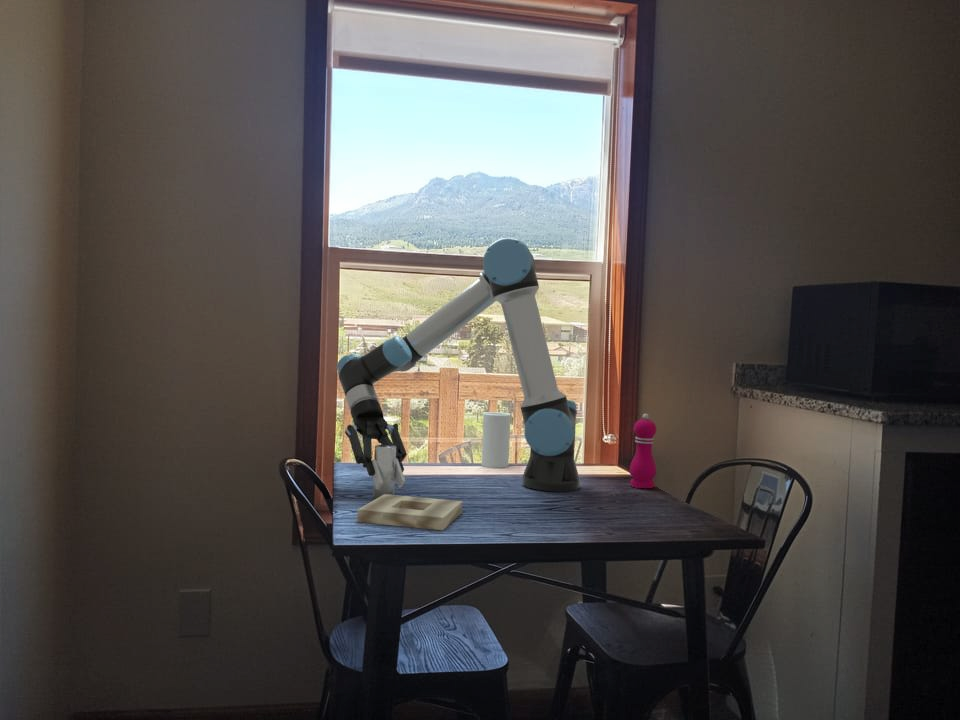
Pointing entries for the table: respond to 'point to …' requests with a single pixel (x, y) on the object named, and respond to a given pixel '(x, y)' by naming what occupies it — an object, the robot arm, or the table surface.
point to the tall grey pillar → (385, 469)
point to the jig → (410, 512)
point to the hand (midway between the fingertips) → (390, 485)
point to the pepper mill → (643, 454)
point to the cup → (496, 439)
